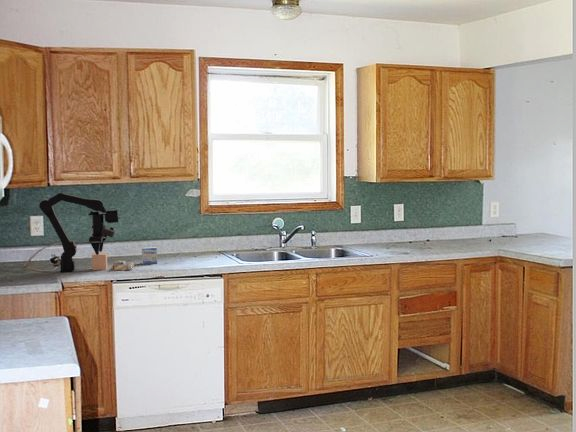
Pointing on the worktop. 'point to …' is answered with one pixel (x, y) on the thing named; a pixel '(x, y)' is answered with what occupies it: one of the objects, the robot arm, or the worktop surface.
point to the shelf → (122, 267)
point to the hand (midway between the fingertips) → (99, 253)
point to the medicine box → (149, 255)
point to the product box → (99, 261)
